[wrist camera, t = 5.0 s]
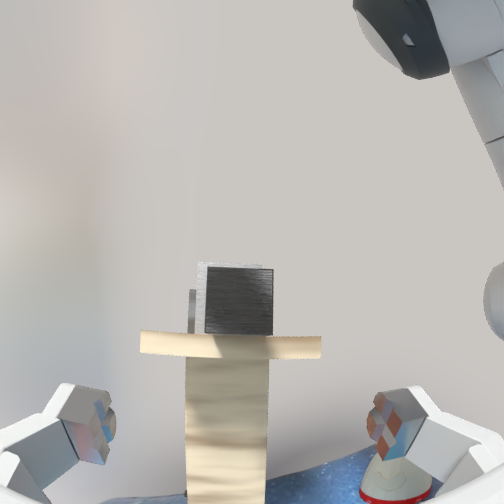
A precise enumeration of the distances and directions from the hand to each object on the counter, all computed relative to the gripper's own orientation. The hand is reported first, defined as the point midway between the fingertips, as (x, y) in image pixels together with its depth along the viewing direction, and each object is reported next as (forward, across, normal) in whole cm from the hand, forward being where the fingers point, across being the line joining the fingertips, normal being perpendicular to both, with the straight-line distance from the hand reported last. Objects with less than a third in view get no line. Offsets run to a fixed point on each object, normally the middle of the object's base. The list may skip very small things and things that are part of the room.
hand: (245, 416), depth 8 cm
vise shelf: (+6, 0, +36) cm, 37 cm away
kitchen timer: (+18, -31, +44) cm, 57 cm away
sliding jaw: (+15, 0, +6) cm, 16 cm away
